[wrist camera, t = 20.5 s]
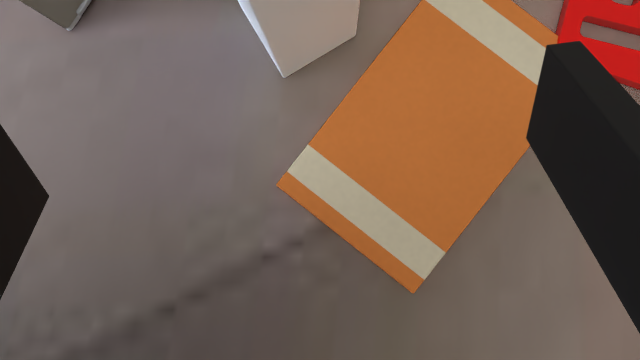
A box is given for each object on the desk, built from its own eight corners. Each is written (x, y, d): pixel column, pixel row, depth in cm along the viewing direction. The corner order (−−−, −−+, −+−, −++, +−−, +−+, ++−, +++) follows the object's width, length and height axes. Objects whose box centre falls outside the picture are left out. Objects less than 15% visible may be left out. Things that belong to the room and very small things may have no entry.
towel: (276, 185, 35) (275, 184, 35) (452, -39, 35) (454, -43, 35) (412, 292, 35) (413, 294, 34) (590, 65, 35) (595, 63, 34)
